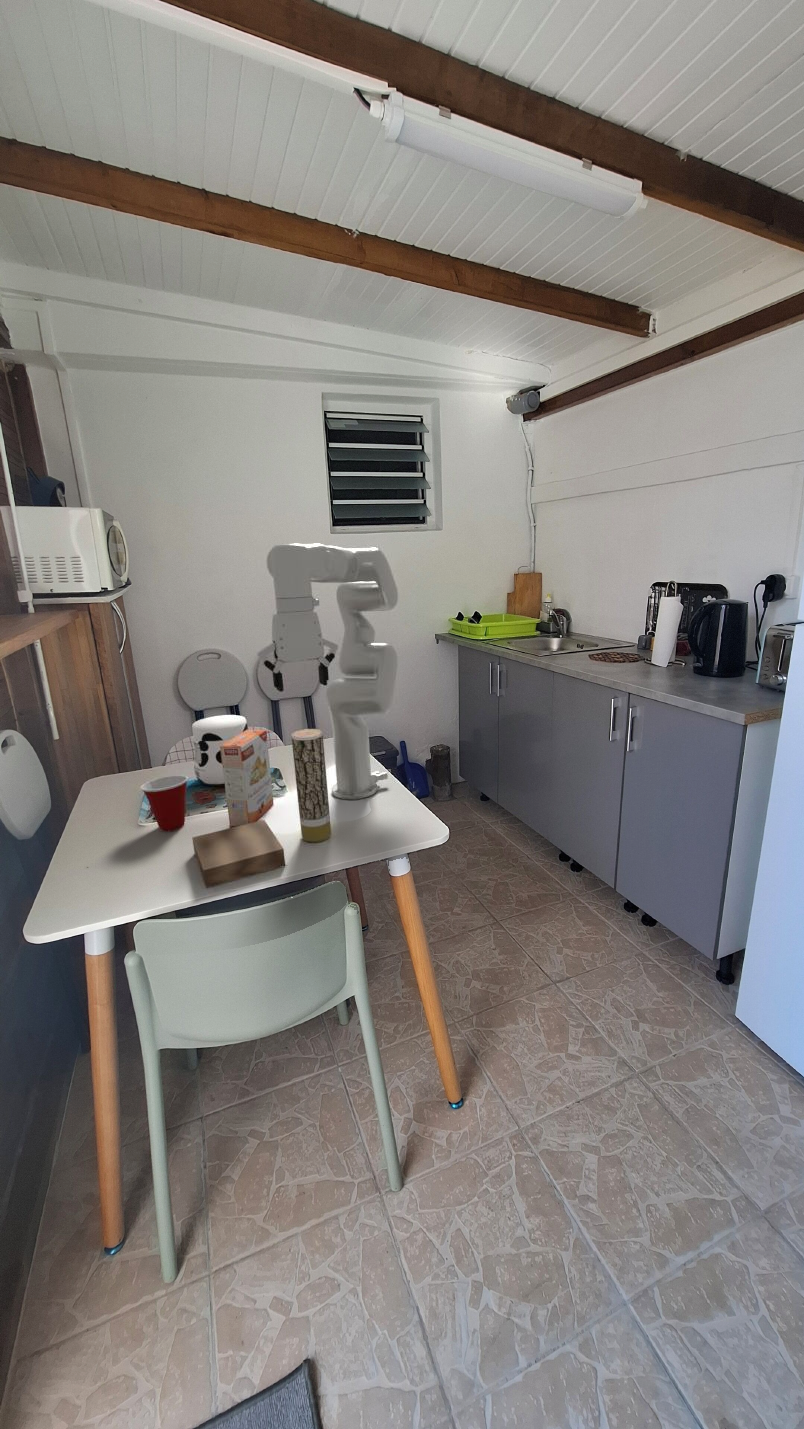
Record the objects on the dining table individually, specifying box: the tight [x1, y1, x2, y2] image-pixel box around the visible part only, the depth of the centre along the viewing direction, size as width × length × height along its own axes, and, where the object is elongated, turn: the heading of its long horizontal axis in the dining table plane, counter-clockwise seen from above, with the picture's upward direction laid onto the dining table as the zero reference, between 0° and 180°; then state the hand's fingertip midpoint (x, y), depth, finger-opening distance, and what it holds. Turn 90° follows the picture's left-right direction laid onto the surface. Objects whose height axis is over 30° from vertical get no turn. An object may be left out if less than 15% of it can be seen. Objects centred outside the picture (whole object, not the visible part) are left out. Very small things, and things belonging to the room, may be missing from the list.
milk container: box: [191, 714, 249, 787], centre depth 165 cm, size 17×17×18 cm
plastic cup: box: [139, 774, 189, 832], centre depth 136 cm, size 11×11×12 cm
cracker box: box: [220, 729, 274, 827], centre depth 139 cm, size 14×6×21 cm, turn 168°
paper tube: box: [291, 728, 332, 843], centre depth 125 cm, size 7×7×25 cm
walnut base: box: [191, 819, 286, 889], centre depth 120 cm, size 16×16×4 cm
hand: (302, 687), depth 119 cm, fingers open, 9 cm apart
